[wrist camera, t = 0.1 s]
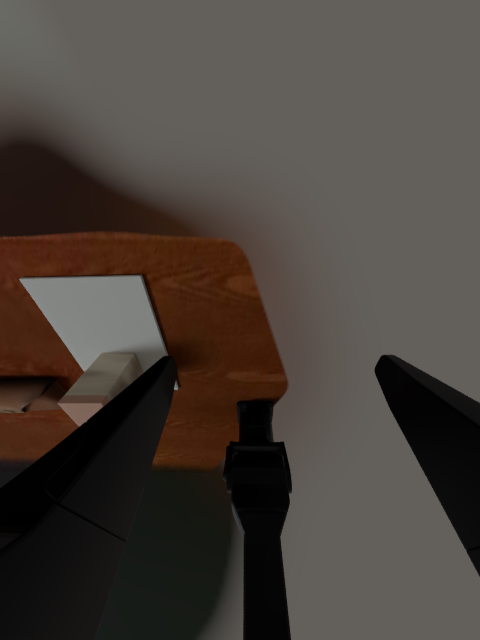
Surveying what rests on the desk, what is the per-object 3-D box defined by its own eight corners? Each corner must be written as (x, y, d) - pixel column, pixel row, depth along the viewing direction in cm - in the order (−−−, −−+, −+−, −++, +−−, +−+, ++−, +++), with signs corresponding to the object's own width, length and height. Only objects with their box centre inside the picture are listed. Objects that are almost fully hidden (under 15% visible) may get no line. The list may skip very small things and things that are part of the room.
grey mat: (178, 387, 33) (178, 389, 33) (98, 387, 33) (97, 389, 33) (141, 274, 22) (140, 276, 21) (22, 277, 22) (19, 278, 22)
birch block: (145, 375, 31) (118, 427, 24) (114, 376, 31) (79, 426, 24) (135, 352, 28) (101, 403, 21) (101, 353, 28) (57, 403, 22)
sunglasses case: (-11, 407, 37) (-66, 428, 31) (-14, 371, 37) (-72, 384, 30) (80, 406, 37) (43, 427, 30) (77, 369, 36) (39, 383, 30)
